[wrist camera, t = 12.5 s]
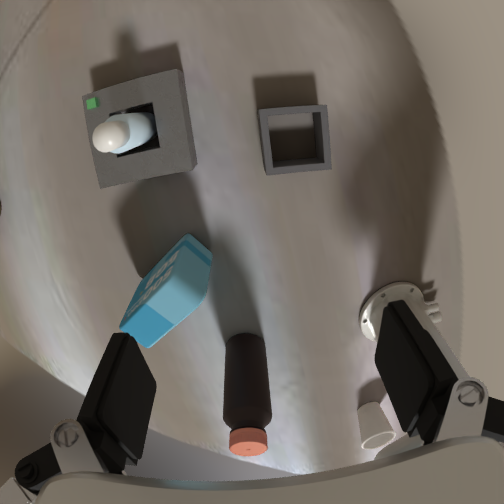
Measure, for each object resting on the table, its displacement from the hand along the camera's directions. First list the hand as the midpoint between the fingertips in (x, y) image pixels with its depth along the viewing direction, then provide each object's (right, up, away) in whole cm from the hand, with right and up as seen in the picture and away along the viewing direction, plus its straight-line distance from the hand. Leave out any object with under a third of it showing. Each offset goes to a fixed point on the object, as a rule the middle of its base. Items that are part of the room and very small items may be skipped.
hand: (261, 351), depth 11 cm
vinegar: (-1, -12, +40) cm, 42 cm away
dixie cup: (+28, -34, +52) cm, 68 cm away
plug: (-14, +19, +24) cm, 33 cm away
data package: (-11, +2, +33) cm, 35 cm away
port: (-14, +19, +24) cm, 33 cm away
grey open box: (+5, +18, +25) cm, 31 cm away
